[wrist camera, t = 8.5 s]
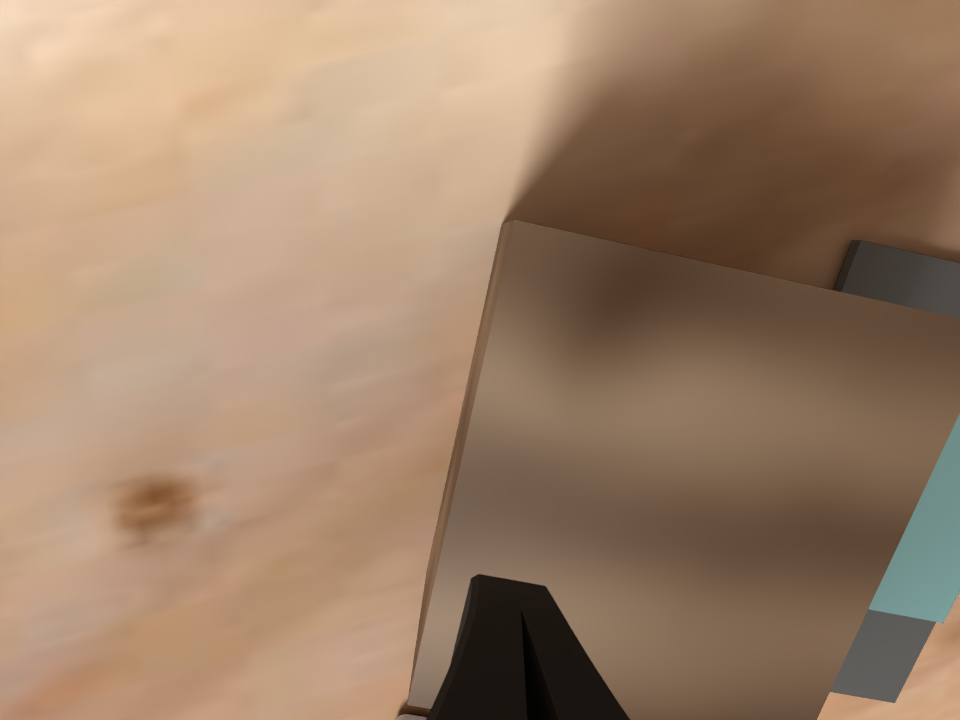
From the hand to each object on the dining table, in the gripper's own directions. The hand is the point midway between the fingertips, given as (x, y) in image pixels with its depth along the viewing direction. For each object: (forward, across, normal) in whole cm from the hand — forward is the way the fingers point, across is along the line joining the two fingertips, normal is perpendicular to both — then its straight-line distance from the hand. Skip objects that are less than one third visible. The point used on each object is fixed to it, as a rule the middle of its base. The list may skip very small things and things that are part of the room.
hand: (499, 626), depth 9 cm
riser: (+10, -5, 0) cm, 12 cm away
